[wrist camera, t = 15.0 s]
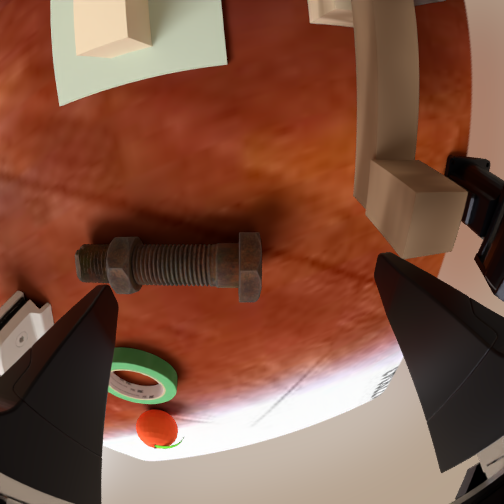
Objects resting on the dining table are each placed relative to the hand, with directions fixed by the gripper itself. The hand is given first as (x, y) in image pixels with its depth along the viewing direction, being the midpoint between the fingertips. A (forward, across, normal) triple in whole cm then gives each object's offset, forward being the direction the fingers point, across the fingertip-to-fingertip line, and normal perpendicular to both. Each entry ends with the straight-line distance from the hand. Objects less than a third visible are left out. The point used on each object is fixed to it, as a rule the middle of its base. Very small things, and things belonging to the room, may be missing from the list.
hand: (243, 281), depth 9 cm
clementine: (+13, +17, +38) cm, 44 cm away
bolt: (+14, +6, +7) cm, 16 cm away
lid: (+14, +6, -13) cm, 20 cm away
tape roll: (+14, +16, +25) cm, 33 cm away
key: (+8, -8, -5) cm, 12 cm away
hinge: (+13, +29, +17) cm, 37 cm away
